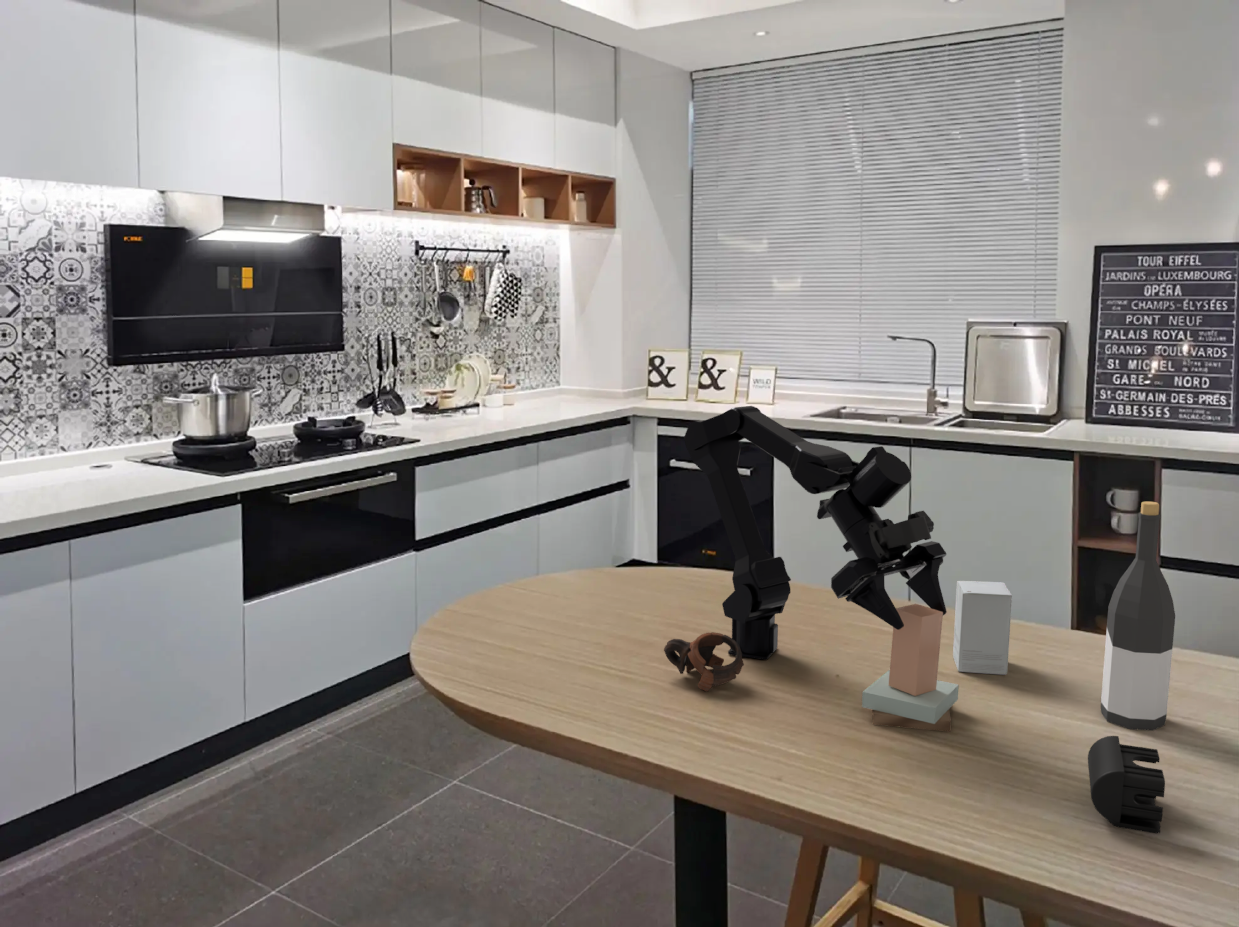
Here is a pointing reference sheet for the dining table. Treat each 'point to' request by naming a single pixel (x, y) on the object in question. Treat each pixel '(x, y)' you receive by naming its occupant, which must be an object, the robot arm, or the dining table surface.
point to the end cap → (1126, 784)
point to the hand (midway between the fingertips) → (922, 621)
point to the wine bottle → (1139, 637)
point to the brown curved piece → (705, 658)
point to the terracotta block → (916, 650)
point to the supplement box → (982, 627)
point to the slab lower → (911, 721)
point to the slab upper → (910, 700)
